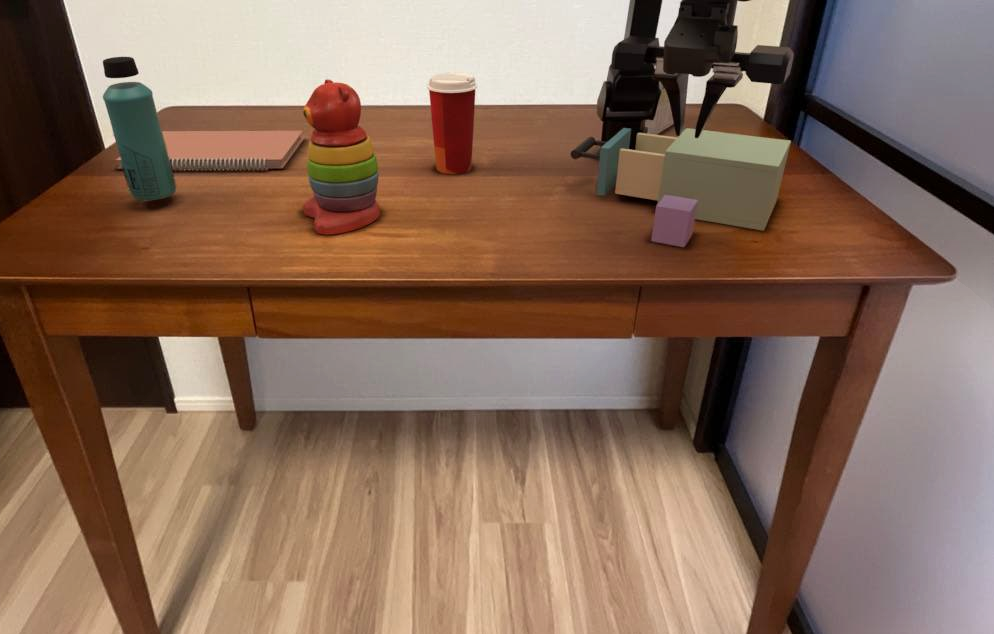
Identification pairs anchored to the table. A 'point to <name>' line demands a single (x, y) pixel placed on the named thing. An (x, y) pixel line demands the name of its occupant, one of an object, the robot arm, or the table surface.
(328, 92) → the stacking bear
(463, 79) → the paper cup
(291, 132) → the notebook
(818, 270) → the table surface
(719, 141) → the green drawer cabinet
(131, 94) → the beverage bottle
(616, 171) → the drawer
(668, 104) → the light bulb box
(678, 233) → the mauve rounded cube
